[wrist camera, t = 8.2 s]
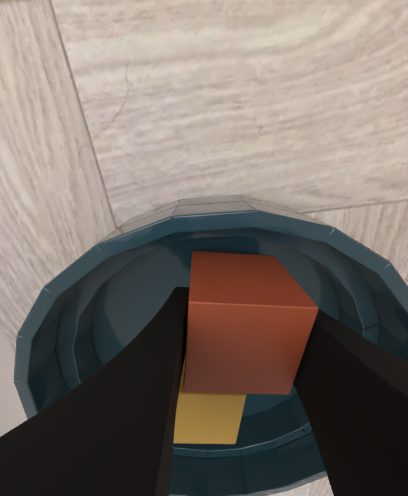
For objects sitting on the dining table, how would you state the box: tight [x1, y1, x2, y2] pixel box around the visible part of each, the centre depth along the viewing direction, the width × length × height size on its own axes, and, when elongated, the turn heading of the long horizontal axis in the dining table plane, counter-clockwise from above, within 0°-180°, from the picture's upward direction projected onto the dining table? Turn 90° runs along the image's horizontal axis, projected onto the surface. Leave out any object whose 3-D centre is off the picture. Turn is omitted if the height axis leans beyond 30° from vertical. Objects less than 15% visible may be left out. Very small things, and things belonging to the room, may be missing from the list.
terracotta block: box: [183, 251, 318, 395], centre depth 9 cm, size 4×4×4 cm
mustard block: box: [173, 352, 246, 444], centre depth 12 cm, size 4×4×4 cm
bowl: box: [14, 196, 408, 496], centre depth 12 cm, size 19×19×4 cm
